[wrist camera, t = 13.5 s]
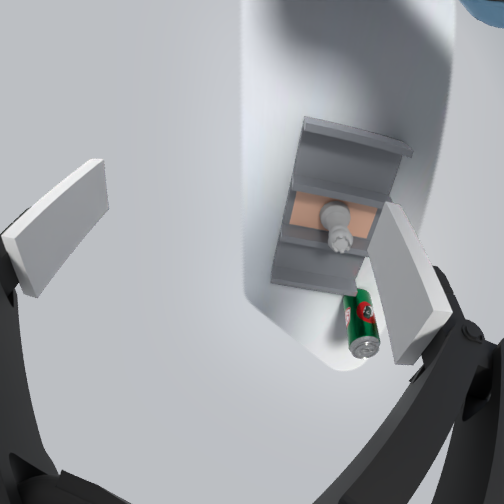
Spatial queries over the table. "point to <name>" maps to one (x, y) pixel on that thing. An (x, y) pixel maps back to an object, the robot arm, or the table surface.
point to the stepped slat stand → (334, 189)
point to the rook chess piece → (337, 225)
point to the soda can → (361, 325)
